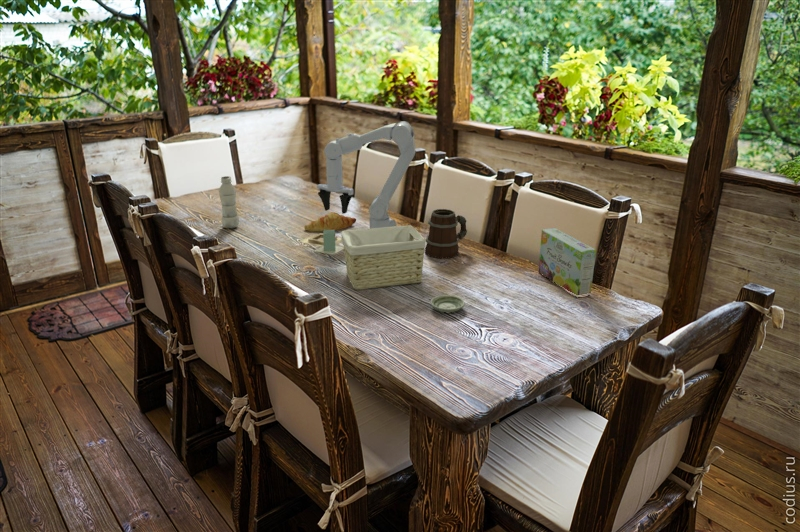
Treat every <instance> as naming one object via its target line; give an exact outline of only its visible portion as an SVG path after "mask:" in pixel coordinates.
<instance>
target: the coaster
mask: <svg viewBox="0 0 800 532" xmlns="http://www.w3.org/2000/svg"><path fill="white" fill-rule="evenodd" d="M342 250H343V251H344V246H339V245H336V250H335V251H324V247H322V246H319V248H317V249H315V250H314V252H318V253H323V254H327V255H333V256H334V255H336V254H337V253H339V252H340V251H342Z"/></svg>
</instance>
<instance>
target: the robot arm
mask: <svg viewBox="0 0 800 532" xmlns="http://www.w3.org/2000/svg"><path fill="white" fill-rule="evenodd" d="M382 139H385V140H387V141H388V140H389V141H391V140H393V142H394V143H395V144H396V145H397V147H398V150H399V152H400V155H399V157H398V159H397V160H396V162H395V164H394V166H393V168H392V170H391V172H390V174H389V176H388V178H387V179H386V181H385V183H384V185H383V186H382V189H381V191H380V193H379V195H378V196H377V197H375V198H374V199H373V200H372V202H371V204H370V206H369V208H368V213H369V214H368V216H369V229H371V228H383V227H393V226H397V221H396V220H395V219H393V218H391V217H390V214H389V213H388V210H389V208H390V201H391V200H392V197H393V196H394V194H395V192H396V190H397V188H398V187H399V185H400V183H401V181H402V179H403V178H404V175H405V174H406V172H407V170H408V168H409V166H410V164H411V163H412V160H413V159H414V157H415V156H416V142H415V132H414V130H413V127H412V126H411V124H410V123H409V122H408V121H405V120H403V121H399V122H398V123H395V122H394V123H391V124H386V125H383V126H381V127H379V128H376V129H374V130H371V131H368V132H366V133H363V134H357V133H352V132H350V133H348V134H347V136H344V137H341V138H339V137H337V138H336V139H335V140H330V142H328V143H327V144H326V146H325V147H324V150H323V151H324V155H325V158H326V160H325V161H326V162H325V163H326V164H325V165H326V167H325V169H326V184H324V183H319V184H317V185H316V187H317V188H316V189H317V191H318V193H317V195H318V197H319V198H320V200H321V203H322V204H323V208H324V211H325V212H327V211H329V210H330V207H331V202H330V201H331V193H336V194H337V193H338V194H340V195H339V199H340V203H341V213H342V214H341V215H344V214H346V213H348V208H349V205H350V202H351V199H352V198H353V195H354V188H351V187H347V186H344V179H343V177H344V176H343V175H344V174H343V172H344V171H343V158H342V157H343V155H344V156H345V155H348V154H351V153H353V152H356V151H360V150H361V149H362V148H363V145H365V144H368V143H371V142H374V141H377V140H382Z"/></svg>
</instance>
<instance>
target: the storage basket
mask: <svg viewBox="0 0 800 532" xmlns="http://www.w3.org/2000/svg"><path fill="white" fill-rule="evenodd" d="M340 236H341V237H340V238H341V240H342V242H341V243H342V246H343V247H344V249H343V255H344V260H345V266H346V276H347V277H348V279H349V282H350V283H351V286H352V287H353V289H355V290H357V291H358V290H367V289H375V288H377V289H378V288H383V287H385V288H386V287H391V286H392V287H394V286H395V287H397V286H400V285H401V286H403V285H408V284H417V283H421V282H422V281H423V280H422V279H423V269H424V267H423V266H424V257H425V247H426V245H427V244H426V239H425V238H424V236H422V234H421V233H420V231H418V230H417V229H416V228H415V227H414V226H413V225H411V224H409V225H396V226H393V227H383V228H371V229H370V228H358V229H345V230H342V231H341V235H340Z"/></svg>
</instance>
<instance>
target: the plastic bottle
mask: <svg viewBox="0 0 800 532" xmlns="http://www.w3.org/2000/svg"><path fill="white" fill-rule="evenodd" d="M220 180H221V181H220V183H221V185H220V186H219V189H218V194H219V199H220V203H221V214H222V215H221V224H222V226H223V228H226V229H234V228H237V227H239V224H240V218H239V216H238V211H237V204H236V202H237V201H236V200H237V199H236V198H237V197H236V196H237V190H236V187H235V186H234V184H232V177H231V176H221V177H220Z"/></svg>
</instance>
